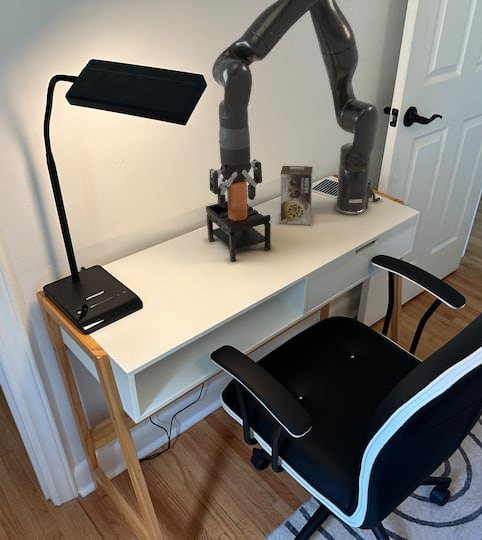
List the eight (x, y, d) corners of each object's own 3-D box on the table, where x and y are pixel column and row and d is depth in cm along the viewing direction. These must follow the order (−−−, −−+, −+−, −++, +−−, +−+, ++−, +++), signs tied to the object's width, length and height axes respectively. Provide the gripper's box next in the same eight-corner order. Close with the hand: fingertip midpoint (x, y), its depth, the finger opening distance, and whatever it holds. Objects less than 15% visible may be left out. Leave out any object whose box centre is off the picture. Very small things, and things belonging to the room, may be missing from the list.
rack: (245, 229, 150) (244, 196, 144) (270, 249, 140) (270, 215, 135) (207, 240, 144) (204, 206, 139) (231, 262, 135) (229, 227, 129)
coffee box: (311, 215, 158) (313, 166, 149) (310, 225, 152) (312, 174, 144) (281, 214, 159) (282, 164, 150) (279, 223, 153) (280, 173, 144)
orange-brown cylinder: (241, 210, 141) (240, 175, 135) (251, 217, 137) (250, 182, 131) (224, 214, 138) (222, 180, 133) (234, 222, 135) (232, 187, 129)
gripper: (215, 153, 121) (219, 214, 130) (267, 142, 127) (267, 201, 136) (201, 143, 126) (206, 203, 135) (251, 134, 133) (253, 191, 141)
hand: (237, 202), depth 135 cm, fingers open, 8 cm apart
